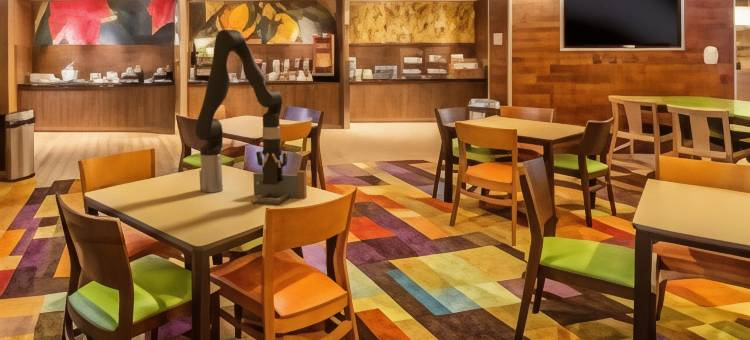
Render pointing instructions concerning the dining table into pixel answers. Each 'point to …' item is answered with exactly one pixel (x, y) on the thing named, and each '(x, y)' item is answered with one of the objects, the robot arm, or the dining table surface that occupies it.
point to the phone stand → (271, 172)
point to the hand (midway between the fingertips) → (272, 175)
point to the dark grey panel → (283, 185)
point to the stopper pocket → (272, 199)
